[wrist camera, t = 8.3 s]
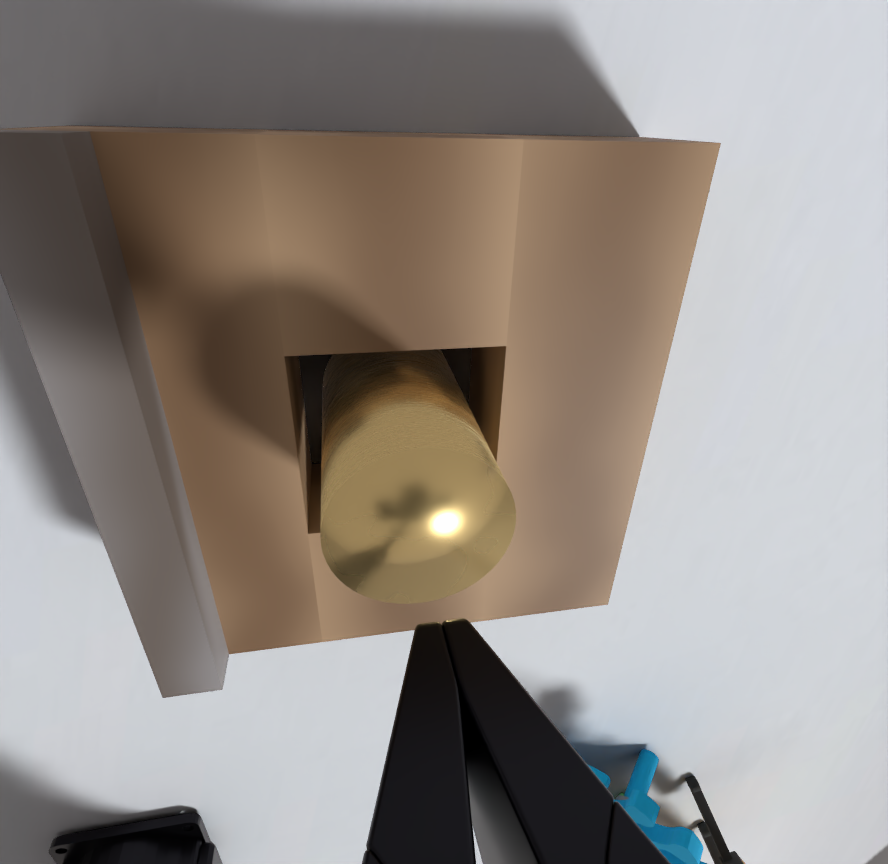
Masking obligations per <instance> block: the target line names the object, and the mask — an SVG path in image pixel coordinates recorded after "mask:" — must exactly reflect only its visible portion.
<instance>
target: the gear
mask: <svg viewBox="0 0 888 864" xmlns="http://www.w3.org/2000/svg"><path fill="white" fill-rule="evenodd" d="M658 761H659V759H658V757H657V756H656V755H655V754H654V753H652V752H651V751H649V750H646V749H642V750H641V751H640V754H639V757H638V759H637V762H636V765H635V767H634V770H633V773H632V775H631V778H630V781H629V783H628V786H627V789H626V791H625V794H624V793H620V794H619V796H617V797H616V799H615V800H614V801H613V803H614V802H615V801H617V802H619V803H620V804H621V806H622V807H623V808H624V809H625V811H626V812H627V813H628V814H629V815H630V817H631V818H632V819H633V820H634V821H635V823H636V824H637V825H638V826H639V828H640V829H641V830H642V831H643V832H644V833H645V834H646V836H647V837H648V838H649V839H650V840H651V841H652V842H653V844H654V845H655V846H656V847H657V848H658V849H659V851H660V852H661V853H662V854H663V855H664V856H665V857H666V859H667V860H668V861H669V862H670V863H671V864H707V863H704V862H701V861H700V859H701V855H702V852H703V846H702V843H701V842H700V840H699V839H698V837H697V836H696V835H695V834H694V832H693V831H691V830H690V829H687V828H685V827H666V826H662V825H659V824H656V823H655V822H656V819H657V816H658V813H659V810H660V807H659V806H658V804H657V803H656V802H654V801H653V800H652V799H651V798H650V797H649V796H647V793H648V790H649V787H650V784H651V782H652V779H653V776H654V773H655V770H656V767H657V764H658ZM587 765H588V764H587ZM588 766H589V767H590V768H591V770H592V771H593V772H594V773H595V775H596V776H597V777H598V778H599V779H600V781H601V782H602V783H603V784H604V785H605V787H606V788H607V789H608V787H609V784H610V782H611V780H610V778H609V776H608V775H606V774H605V773H603V772H602V771H600V770H598V769H596V768H594V767H592V766H590V765H588Z"/></svg>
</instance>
